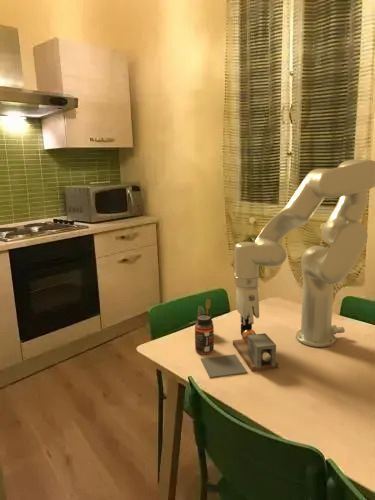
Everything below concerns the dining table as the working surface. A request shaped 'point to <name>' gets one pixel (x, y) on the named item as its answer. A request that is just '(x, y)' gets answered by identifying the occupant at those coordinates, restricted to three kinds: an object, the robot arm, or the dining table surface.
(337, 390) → the dining table surface
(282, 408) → the dining table surface
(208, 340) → the supplement bottle
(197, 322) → the utensil holder
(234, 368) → the pad
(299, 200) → the robot arm
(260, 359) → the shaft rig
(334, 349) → the dining table surface
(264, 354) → the shaft
